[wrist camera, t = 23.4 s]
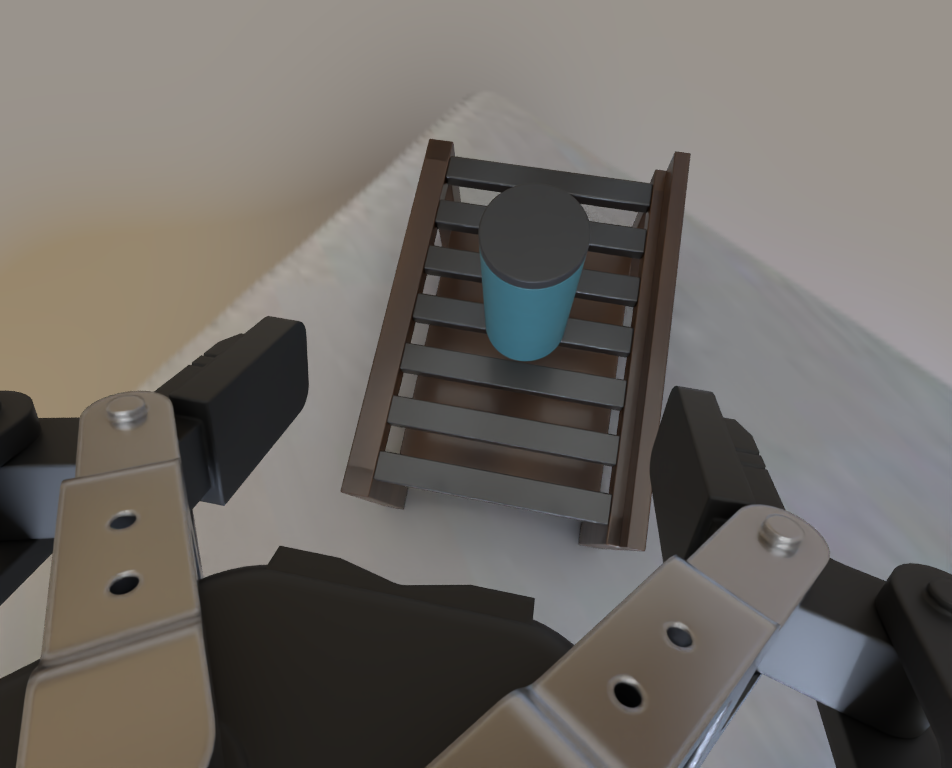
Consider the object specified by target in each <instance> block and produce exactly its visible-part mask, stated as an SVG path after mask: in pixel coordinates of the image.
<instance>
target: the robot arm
mask: <svg viewBox="0 0 952 768" xmlns="http://www.w3.org/2000/svg"><path fill="white" fill-rule="evenodd" d="M308 387H309V381H308V360H307V339H306V329H305V326H304V324H303V323H302V322H300V321H294V320H288V319H282V318H276V317H270V316H267V317H265V318H264V319H262V320H261V321H260V322H259V323H257V324H256V325H255V326H254V327H252V328H251V329H250V330H249V331H247V332H246V333H245V334H238V335H235V336H233V337H230V338H228V339H225V340H222V341H220V342H218V343H217V344H216V345H214V346H213V347H212V348H210V349H209V350H208V351H206V352H205V353H204V356H202V355H201V356H200V357H199V358H197V359H196V360H195V361H193V362H192V365H188V366H187V367H186V368H184V369H183V370H182V371H180V372H179V373H178V374H176V375H175V376H174V377H173V378H171V379H170V380H169V381H167V382H166V383H165V384H163V385H162V386H161V387H160V388H158V389H157V390H156V391H154V392H150V391H130V392H123V393H118V394H115V395H110V396H108V397H105V398H103V399H100V400H98V401H96V402H94V403H92V404H91V405H90V406H88V407H87V408H86V409H85V410H84V411H83V412H82V414H81V416H80V418H38V417H37V413H36V410H35V408H34V404H33V402H32V399H31V398H30V397H29V396H27V395H26V394H23V393H19V392H15V391H0V605H1V604H2V603H3V602H4V601H5V600H6V599H7V598H8V597H9V596H10V595H11V594H12V593H13V592H14V591H15V590H16V589H17V588H18V587H19V586H20V585H21V584H22V583H23V582H24V581H25V580H26V579H27V578H28V577H29V576H30V575H31V574H32V573H33V572H34V571H35V570H36V569H37V568H38V567H39V566H40V565H41V564H42V563H43V562H44V561H45V560H46V559H47V558H48V557H49V556H50V555H51V554H52V553H53V555H52V564H51V573H50V582H49V591H48V600H47V609H46V618H45V627H44V636H43V645H42V653H41V658H40V659H39V660H37V661H35V662H33V663H31V664H29V665H27V666H25V667H23V668H21V669H19V670H17V671H15V672H13V673H11V674H9V675H7V676H5V677H3V678H1V679H0V768H700V767H701V765H702V763H703V762H704V760H705V759H706V757H707V755H708V754H709V752H710V751H711V749H712V748H713V746H714V745H715V743H716V742H717V740H718V739H719V737H720V736H721V734H722V733H723V731H724V730H725V729H726V727H727V726H728V724H729V723H730V721H731V720H732V718H733V717H734V715H735V714H736V712H737V711H738V709H739V708H740V707H741V705H742V704H743V702H744V701H745V699H746V698H747V696H748V695H749V693H750V692H751V690H752V689H753V687H754V686H755V684H756V683H757V682H758V680H759V679H760V677H761V676H762V674H764V675H766V676H768V677H770V678H772V679H774V680H776V681H778V682H780V683H782V684H784V685H786V686H788V687H790V688H792V689H794V690H796V691H798V692H800V693H803V694H805V695H807V696H809V697H811V698H813V699H815V700H816V701H817V705H818V708H819V712H820V715H821V718H822V722H823V725H824V728H825V732H826V735H827V738H828V742H829V745H830V748H831V751H832V755H833V758H834V761H835V765H836V768H952V575H951V574H949V573H947V572H945V571H942V570H940V569H937V568H934V567H930V566H927V565H922V564H912V563H909V564H903V565H900V566H898V567H896V568H895V569H894V570H893V572H892V573H891V575H890V576H889V578H888V579H887V581H884V580H881V579H879V578H876V577H874V576H871V575H869V574H866V573H864V572H861V571H859V570H856V569H854V568H851V567H849V566H846V565H844V564H842V563H839V562H837V561H835V560H833V559H831V558H830V551H829V547H828V545H827V543H826V541H825V540H824V538H823V537H822V536H821V535H820V533H819V532H818V531H817V530H816V529H815V528H813V527H812V526H811V525H810V524H809V523H807V522H806V521H804V520H803V519H801V518H800V517H798V516H796V515H794V514H792V513H790V512H788V511H785V508H784V506H783V504H782V502H781V499H780V497H779V495H778V493H777V490H776V488H775V486H774V484H773V482H772V479H771V477H770V475H769V473H768V470H766V469H765V467H766V466H765V464H764V461H763V459H762V457H761V456H759V450H758V448H757V446H756V444H755V441H754V439H753V437H752V435H751V434H750V433H749V432H747V431H746V430H745V429H744V428H743V427H742V426H741V425H740V424H739V423H738V422H737V421H736V420H734V419H729V418H723V416H722V414H721V411H720V408H719V406H718V403H717V401H716V398H715V396H714V394H713V392H709V391H703V390H698V389H692V388H686V387H680V386H675V387H674V388H673V389H672V391H671V393H670V395H669V398H668V401H667V404H666V407H665V411H664V414H663V417H662V420H661V423H660V426H659V429H658V432H657V435H656V439H655V442H654V445H653V448H652V453H651V458H650V469H649V472H650V481H651V487H652V494H653V500H654V506H655V513H656V519H657V525H658V532H659V538H660V544H661V551H662V557H663V564H662V565H661V566H660V567H659V568H658V569H657V570H656V571H654V572H653V573H652V574H651V575H650V576H649V577H648V578H647V579H646V580H645V581H644V582H643V583H641V584H640V585H639V586H638V587H637V588H636V589H635V590H634V591H633V592H632V593H631V594H630V595H628V596H627V597H626V598H625V599H624V600H623V601H622V602H621V603H620V604H619V605H618V606H617V607H615V608H614V609H613V610H612V611H611V612H610V613H609V614H608V615H607V616H606V617H605V618H604V619H603V620H601V621H600V622H599V623H598V624H597V625H596V626H595V627H594V628H593V629H592V630H591V631H590V632H588V633H587V634H586V635H585V636H584V637H583V638H582V639H581V640H580V641H579V642H578V643H577V644H575V645H573V644H572V643H571V642H570V641H568V640H567V639H566V638H564V637H563V636H562V635H560V634H559V633H557V632H556V631H554V630H552V629H551V628H549V627H547V626H546V625H544V624H542V623H540V622H538V621H535V620H533V612H534V601H535V598H532V597H527V596H522V595H517V594H512V593H507V592H502V591H498V590H493V589H488V588H483V587H478V586H473V585H400V584H396V583H393V582H391V581H389V580H387V579H385V578H382V577H380V576H378V575H376V574H374V573H372V572H369V571H367V570H365V569H363V568H361V567H359V566H356V565H354V564H352V563H350V562H348V561H346V560H343V559H341V558H337V557H332V556H327V555H323V554H318V553H313V552H308V551H303V550H298V549H293V548H289V547H284V546H279V548H278V549H277V551H276V552H275V554H274V556H273V557H272V559H271V560H270V562H269V564H268V565H256V566H246V567H240V568H236V569H231V570H227V571H223V572H220V573H216V574H213V575H210V576H208V577H205V578H203V571H202V565H201V559H200V552H199V546H198V539H197V533H196V527H195V520H194V515H193V510H192V509H193V508H194V507H195V506H196V504H197V503H198V502H199V501H203V502H208V503H213V504H218V505H223V506H225V504H226V503H227V502H228V501H229V499H230V498H231V497H232V496H233V495H234V493H235V492H236V491H237V490H238V488H239V487H240V486H241V485H242V483H243V482H244V481H245V480H246V478H247V477H248V476H249V475H250V474H251V472H252V471H253V470H254V469H255V467H256V466H257V465H258V464H259V462H260V461H261V460H262V459H263V457H264V456H265V455H266V454H267V453H268V451H269V450H270V449H271V448H272V446H273V445H274V444H275V443H276V441H277V440H278V439H279V438H280V436H281V435H282V434H283V433H284V432H285V430H286V429H287V428H288V427H289V425H290V424H291V423H292V422H293V420H294V419H295V418H296V417H297V415H298V414H299V413H300V412H301V410H302V409H303V407H304V405H305V402H306V399H307V395H308Z"/></svg>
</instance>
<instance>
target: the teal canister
mask: <svg viewBox="0 0 952 768" xmlns="http://www.w3.org/2000/svg"><path fill="white" fill-rule="evenodd" d="M478 237H479V250H480V262H481V274H482V286H483V299H484V311H485V323H486V331H487V335H488V338H489V340H490V342H491V343H492V345H493V346H494V347H495V348H496V349H497V350H498V351H499V352H500V353H501V354H503V355H504V356H506V357H508V358H511V359H514V360H518V361H533V360H537V359H540V358H543V357H545V356H547V355H548V354H550V353H551V352H552V351H553V350H554V349H555V348H556V347H557V346H558V345H559V343H560V341H561V340H562V337H563V335H564V331H565V328H566V324H567V321H568V317H569V314H570V310H571V307H572V303H573V300H574V296H575V293H576V290H577V286H578V283H579V279H580V276H581V272H582V269H583V265H584V262H585V258H586V255H587V251H588V248H589V244H590V238H591V229H590V223H589V220H588V217H587V214H586V212H585V211H584V209H583V207H582V206H581V205H580V203H579V202H578V201H577V200H576V199H575V198H574V197H573V196H571V195H570V194H569V193H567V192H566V191H564V190H562V189H560V188H558V187H555V186H552V185H548V184H542V183H528V184H521V185H518V186H514V187H512V188H509V189H507V190H505V191H504V192H502V193H501V194H499V195H498V196H496V197H495V198H494V199H493V200H492V201H491V202H490V204H489V205H488V206H487V208H486V209H485V211H484V213H483V215H482V217H481V220H480V223H479V230H478Z"/></svg>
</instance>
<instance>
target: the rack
mask: <svg viewBox="0 0 952 768" xmlns="http://www.w3.org/2000/svg"><path fill="white" fill-rule="evenodd" d="M690 155H691V154H690V153H683V152H675V153H674V156H673V158H672V160H671V162H670V164H669V167H668V169H667V171H663V170H655V172H654V175H653V177H652V179H651V182H650V183H643V182H636V181H629V180H621V179H614V178H607V177H600V176H593V175H585V174H578V173H571V172H564V171H556V170H549V169H542V168H535V167H528V166H520V165H513V164H506V163H499V162H491V161H484V160H477V159H470V158H462V157H455V152H454V144H453V142H450V141H443V140H435V139H429V143H428V147H427V151H426V155H425V159H424V163H423V167H422V170H421V174H420V178H419V182H418V186H417V190H416V194H415V198H414V202H413V206H412V210H411V214H410V218H409V222H408V226H407V230H406V234H405V238H404V242H403V246H402V250H401V254H400V258H399V262H398V266H397V270H396V273H395V277H394V281H393V285H392V289H391V293H390V297H389V301H388V305H387V309H386V313H385V317H384V321H383V325H382V329H381V333H380V337H379V341H378V345H377V349H376V353H375V357H374V361H373V365H372V369H371V373H370V376H369V380H368V384H367V388H366V392H365V396H364V400H363V404H362V408H361V412H360V416H359V420H358V424H357V428H356V432H355V436H354V440H353V444H352V448H351V452H350V456H349V460H348V464H347V468H346V472H345V475H344V479H343V483H342V487H341V492H342V493H345V494H348V495H351V496H355V497H358V498H361V499H364V500H367V501H370V502H374V503H377V504H380V505H383V506H388V507H393V508H398V509H404V505H405V501H406V496H407V492H408V488H407V487H412V488H417V489H422V490H427V491H433V492H438V493H443V494H448V495H453V496H458V497H463V498H468V499H473V500H479V501H484V502H489V503H494V504H499V505H504V506H509V507H514V508H519V509H525V510H530V511H535V512H540V513H545V514H550V515H555V516H560V517H565V518H571V519H576V520H581V521H584V522H582V523H581V530H580V537H579V545H583V546H588V547H593V548H598V549H611V550H630V551H645V548H646V539H647V531H648V522H649V513H650V505H651V496H652V487H651V481H650V472H649V469H650V458H651V453H652V448H653V445H654V442H655V439H656V435H657V432H658V429H659V426H660V417H661V408H662V400H663V391H664V382H665V373H666V365H667V356H668V347H669V338H670V330H671V321H672V312H673V303H674V295H675V286H676V277H677V268H678V260H679V251H680V242H681V233H682V225H683V216H684V207H685V198H686V190H687V181H688V171H689V163H690ZM528 183H542V184H548V185H552V186H555V187H558V188H560V189H562V190H564V191H566V192H567V193H569V194H570V195H571V196H573V197H574V198H575V199H576V200H577V201H578V202H579V203H580V204H586V205H593V206H600V207H607V208H614V209H621V210H628V211H635V212H638V214H637V216H636V219H635V221H634V224H633V226H632V227H626V226H620V225H613V224H606V223H599V222H592V221H589V223H590V229H591V238H590V244H589V248H588V251H587V255H586V258H585V262H584V265H583V269H582V272H581V276H580V279H579V283H578V286H577V290H576V293H575V296H574V300H573V303H572V307H571V310H570V314H569V317H568V321H567V324H566V328H565V331H564V335H563V337H562V340H561V341H560V343H559V345H558V346H557V347H556V348H555V349H554V350H553V351H552V352H551V353H550V354H548V355H547V356H545V357H543V358H540V359H537V360H533V361H518V360H514V359H511V358H508V357H506V356H504V355H503V354H501V353H500V352H499V351H498V350H497V349H496V348H495V347H494V346H493V345H492V343H491V342H490V340H489V338H488V335H487V331H486V323H485V311H484V299H483V286H482V274H481V262H480V250H479V237H478V230H479V223H480V220H481V217H482V215H483V213H484V211H485V209H486V208H487V206H483V205H476V204H469V203H462V202H461V200H460V192H459V186H460V187H467V188H474V189H481V190H488V191H495V192H504V191H505V190H507V189H509V188H512V187H514V186H518V185H521V184H528ZM437 229H439V232H440V237H441V242H442V247H439V246H434V242H435V238H436V234H437ZM427 274H428V275H434V276H441V277H440V281H439V285H438V290H437V294H436V296H434V295H428V294H422V293H423V288H424V284H425V280H426V276H427ZM625 306H629V307H634V308H633V315H632V323H631V327H625V326H623V320H624V313H625ZM415 322H417V323H423V324H429V329H428V333H427V338H426V342H425V346H423V345H417V344H411V339H412V335H413V331H414V326H415ZM619 356H620V357H627V360H626V368H625V375H624V380H621V379H616V371H617V364H618V357H619ZM403 373H408V374H414V375H418V377H417V381H416V385H415V390H414V394H413V399H412V398H407V397H401V396H398V394H399V390H400V386H401V381H402V377H403ZM611 409H612V410H618V411H620V413H619V420H618V428H617V435H612V434H608V429H609V422H610V415H611ZM391 426H397V427H402V428H406V429H405V433H404V438H403V442H402V446H401V451H400V454H397V453H392V452H386V451H385V449H386V445H387V440H388V436H389V432H390V428H391ZM604 465H607V466H612V473H611V480H610V488H609V494H607V493H602V492H600V488H601V480H602V473H603V466H604ZM405 486H407V487H405Z"/></svg>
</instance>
